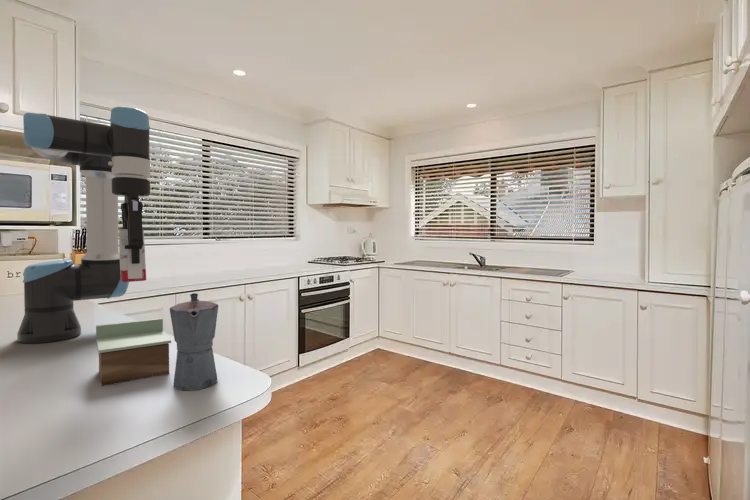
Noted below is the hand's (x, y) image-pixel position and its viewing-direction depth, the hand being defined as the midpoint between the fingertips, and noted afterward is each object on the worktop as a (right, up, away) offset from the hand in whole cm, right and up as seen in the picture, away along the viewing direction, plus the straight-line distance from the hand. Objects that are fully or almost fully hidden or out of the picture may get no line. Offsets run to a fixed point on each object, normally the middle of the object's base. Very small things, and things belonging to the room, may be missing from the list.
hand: (132, 276), depth 92 cm
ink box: (0, -1, 0) cm, 1 cm away
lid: (0, -15, +1) cm, 15 cm away
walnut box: (0, -23, +1) cm, 23 cm away
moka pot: (+16, -23, -4) cm, 29 cm away
